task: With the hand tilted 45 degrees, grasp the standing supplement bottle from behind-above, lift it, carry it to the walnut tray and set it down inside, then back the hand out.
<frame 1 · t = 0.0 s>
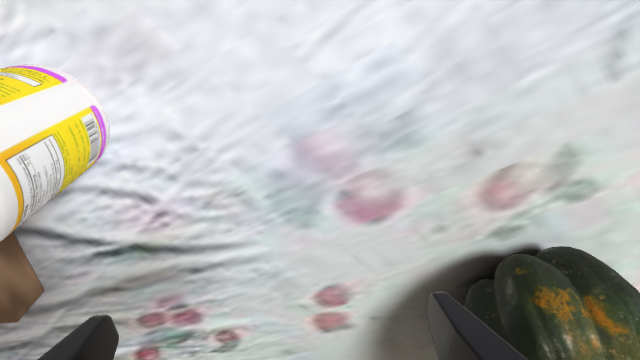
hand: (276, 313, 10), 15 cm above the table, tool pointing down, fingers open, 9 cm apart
supplement bottle: (59, 117, 21), on the table
squash: (510, 291, 32), on the table
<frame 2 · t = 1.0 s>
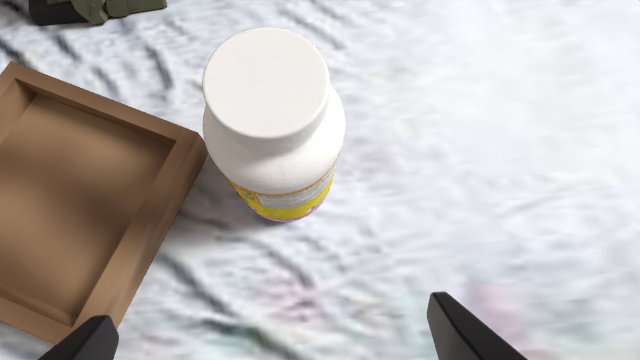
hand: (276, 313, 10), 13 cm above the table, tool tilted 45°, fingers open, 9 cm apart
supplement bottle: (285, 179, 25), on the table
walnut tray: (72, 201, 23), on the table
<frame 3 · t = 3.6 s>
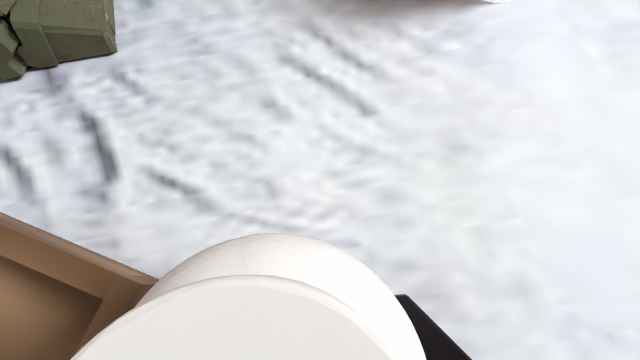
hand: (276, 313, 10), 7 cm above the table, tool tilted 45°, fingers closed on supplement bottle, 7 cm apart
supplement bottle: (288, 333, 16), on the table, touching gripper
mechanical leg: (42, 29, 20), on the table
when the fingers open (9 cm above the table, at t = 7.3 s): supplement bottle stays where it is, resting on walnut tray.
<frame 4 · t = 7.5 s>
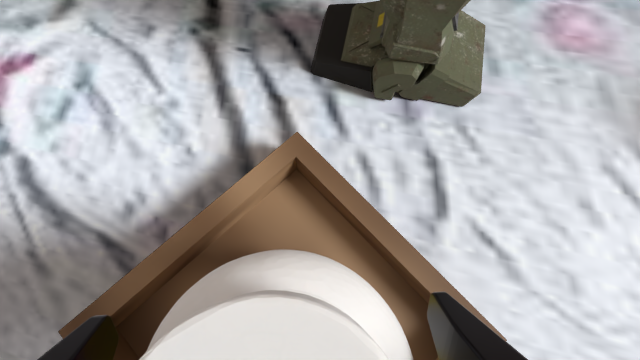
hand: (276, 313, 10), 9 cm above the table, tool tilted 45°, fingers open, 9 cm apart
supplement bottle: (292, 333, 17), point 1 cm above the table, touching walnut tray
walnut tray: (290, 327, 18), on the table
mechanical leg: (405, 62, 23), on the table
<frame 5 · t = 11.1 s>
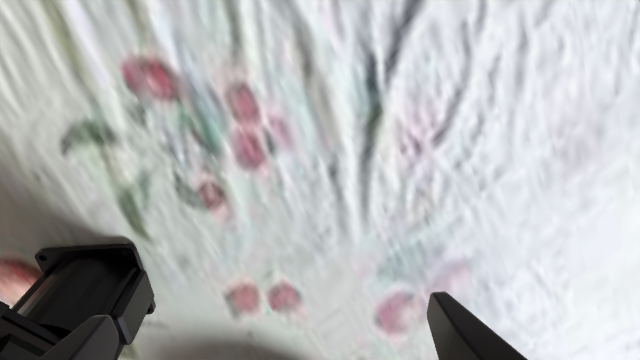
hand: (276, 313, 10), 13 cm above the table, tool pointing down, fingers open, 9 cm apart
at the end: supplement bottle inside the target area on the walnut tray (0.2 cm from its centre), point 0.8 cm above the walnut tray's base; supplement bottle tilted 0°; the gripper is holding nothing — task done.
